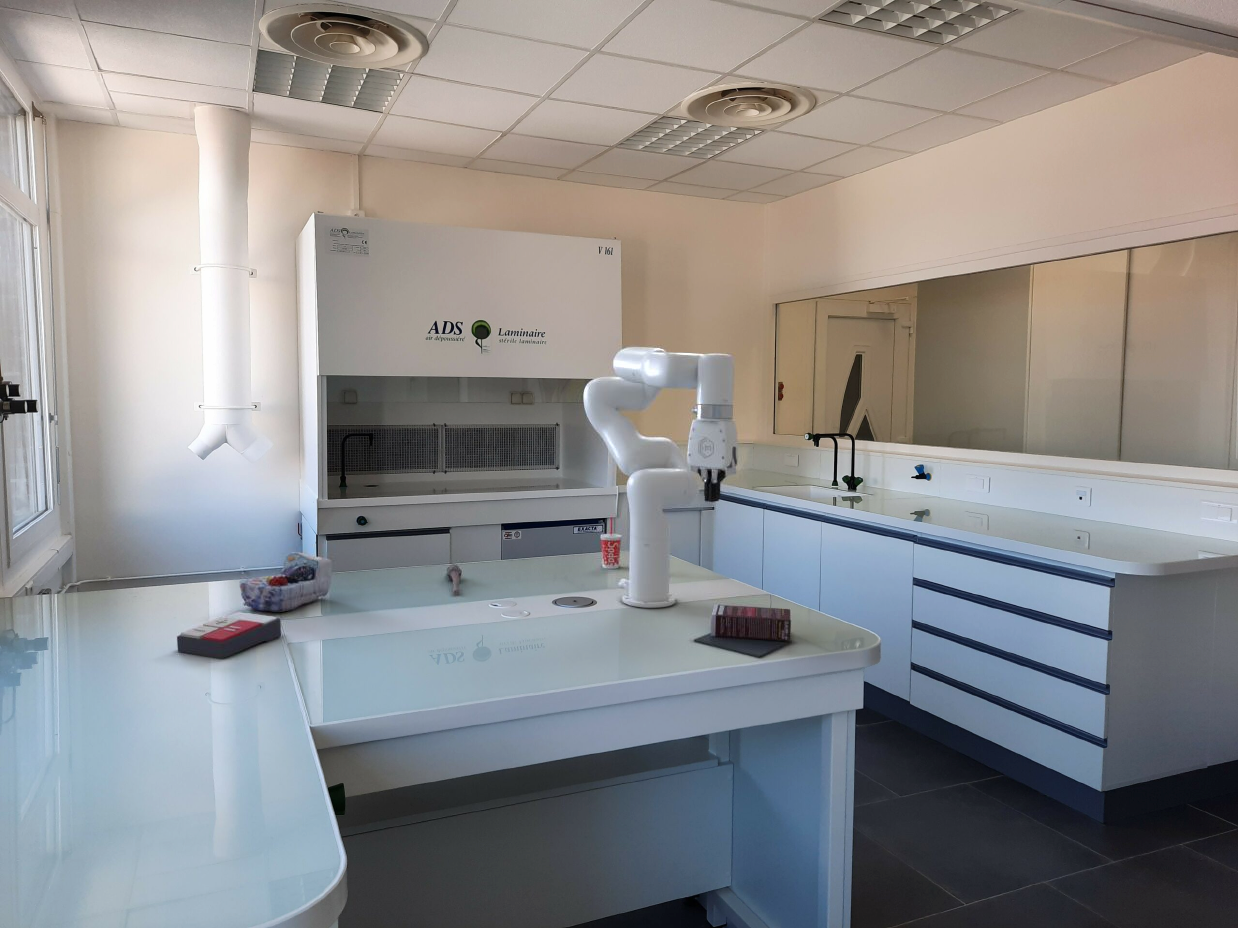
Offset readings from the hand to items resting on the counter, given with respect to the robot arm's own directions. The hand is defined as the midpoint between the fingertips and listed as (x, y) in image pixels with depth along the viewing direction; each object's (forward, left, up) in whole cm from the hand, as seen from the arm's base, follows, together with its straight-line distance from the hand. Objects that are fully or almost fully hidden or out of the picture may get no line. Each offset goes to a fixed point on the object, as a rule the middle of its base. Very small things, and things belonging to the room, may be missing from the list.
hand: (711, 500), depth 175 cm
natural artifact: (-68, -13, -27) cm, 75 cm away
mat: (+11, -4, -27) cm, 30 cm away
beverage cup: (-53, +31, -27) cm, 67 cm away
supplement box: (+3, -3, -24) cm, 25 cm away
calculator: (-61, -73, -27) cm, 99 cm away
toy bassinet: (-80, -51, -27) cm, 99 cm away
